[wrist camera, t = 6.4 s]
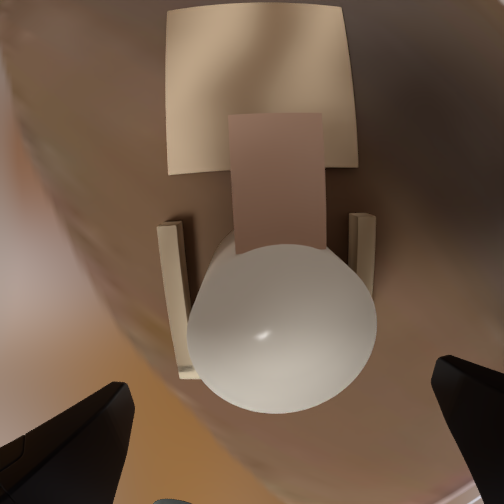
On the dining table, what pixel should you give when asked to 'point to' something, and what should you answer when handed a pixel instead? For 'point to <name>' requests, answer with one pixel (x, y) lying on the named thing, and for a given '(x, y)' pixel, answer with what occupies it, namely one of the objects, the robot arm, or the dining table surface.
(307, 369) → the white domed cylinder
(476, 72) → the dining table surface
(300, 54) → the coaster
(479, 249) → the dining table surface
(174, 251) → the beige u-shaped bar frame
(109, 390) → the robot arm
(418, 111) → the dining table surface
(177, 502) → the cup
